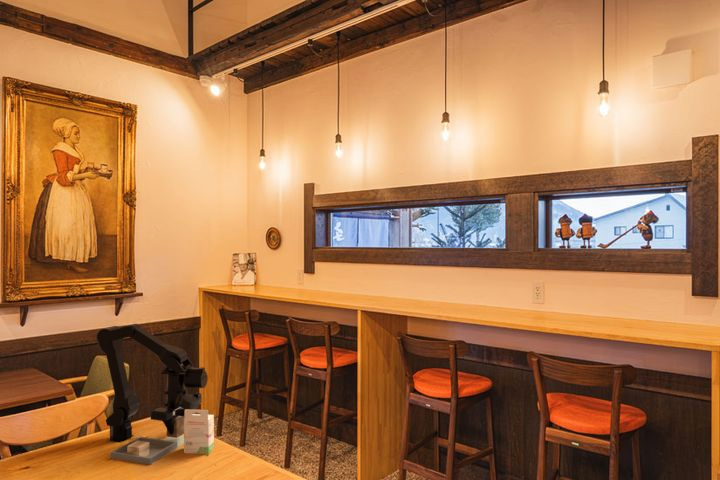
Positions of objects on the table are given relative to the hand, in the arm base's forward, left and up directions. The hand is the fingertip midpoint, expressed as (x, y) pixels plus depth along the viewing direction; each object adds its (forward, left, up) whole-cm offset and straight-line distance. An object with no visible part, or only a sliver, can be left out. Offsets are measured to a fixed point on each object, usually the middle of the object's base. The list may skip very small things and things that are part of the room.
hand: (175, 432), depth 168 cm
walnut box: (0, 0, -1) cm, 1 cm away
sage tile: (0, 0, -3) cm, 3 cm away
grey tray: (-3, -11, -3) cm, 12 cm away
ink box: (+13, -4, -4) cm, 14 cm away
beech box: (-3, -14, -3) cm, 15 cm away
